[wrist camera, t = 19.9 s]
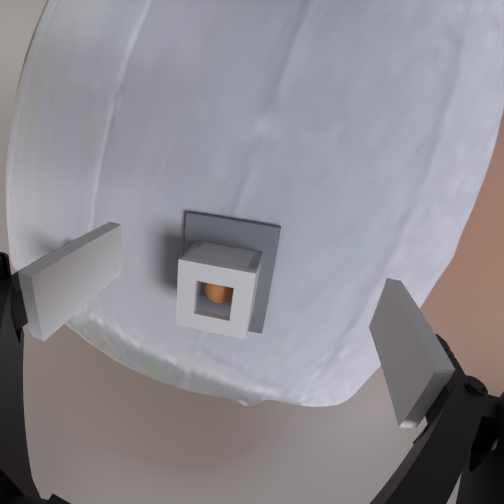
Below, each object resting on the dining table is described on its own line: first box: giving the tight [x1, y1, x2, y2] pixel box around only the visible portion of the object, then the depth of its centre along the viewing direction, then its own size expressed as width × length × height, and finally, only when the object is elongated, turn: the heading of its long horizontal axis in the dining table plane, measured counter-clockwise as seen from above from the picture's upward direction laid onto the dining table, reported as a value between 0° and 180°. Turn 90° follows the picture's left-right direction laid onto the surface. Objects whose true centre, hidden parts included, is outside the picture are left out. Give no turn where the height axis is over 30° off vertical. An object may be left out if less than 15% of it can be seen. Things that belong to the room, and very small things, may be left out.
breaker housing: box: [176, 212, 281, 339], centre depth 45 cm, size 18×14×9 cm
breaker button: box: [205, 283, 234, 303], centre depth 45 cm, size 4×4×4 cm
